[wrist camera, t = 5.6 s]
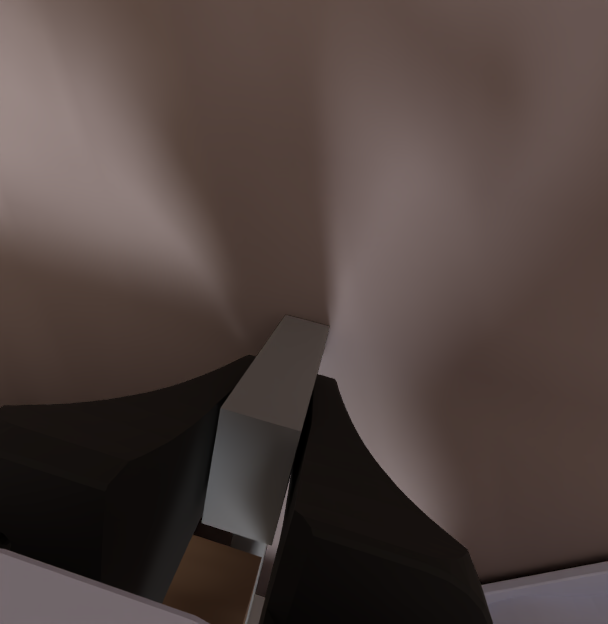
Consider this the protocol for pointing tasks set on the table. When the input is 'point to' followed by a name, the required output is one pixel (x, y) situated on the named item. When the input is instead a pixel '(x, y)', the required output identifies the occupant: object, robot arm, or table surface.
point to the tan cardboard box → (214, 582)
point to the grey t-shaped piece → (262, 440)
